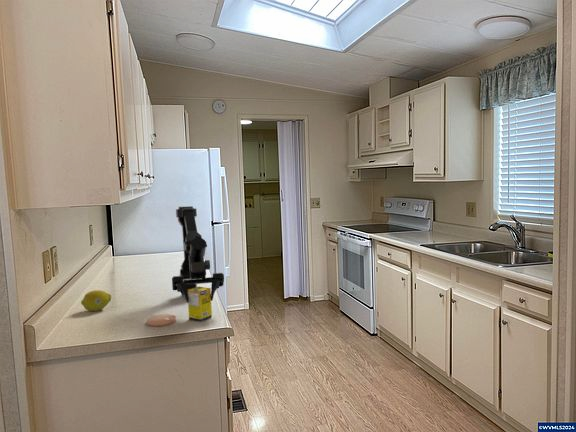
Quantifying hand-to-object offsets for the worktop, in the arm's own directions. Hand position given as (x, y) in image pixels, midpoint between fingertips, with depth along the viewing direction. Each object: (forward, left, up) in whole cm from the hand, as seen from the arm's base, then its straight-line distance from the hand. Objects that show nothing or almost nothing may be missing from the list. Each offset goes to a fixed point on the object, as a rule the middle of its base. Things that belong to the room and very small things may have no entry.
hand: (199, 301), depth 152 cm
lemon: (-34, -31, -7) cm, 47 cm away
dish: (-5, -13, -7) cm, 15 cm away
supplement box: (-1, 0, -7) cm, 7 cm away
